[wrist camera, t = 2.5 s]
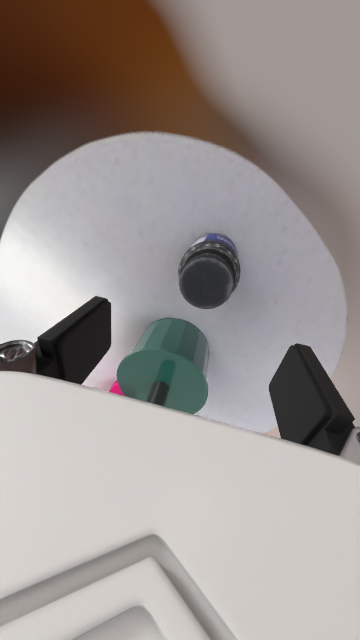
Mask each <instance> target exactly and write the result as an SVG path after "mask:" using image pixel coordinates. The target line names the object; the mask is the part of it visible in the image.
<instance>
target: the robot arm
mask: <svg viewBox="0 0 360 640" xmlns="http://www.w3.org/2000/svg"><path fill="white" fill-rule="evenodd" d="M110 346H111V303H110V302H108V299H106V298H102V297H98V296H95V297H94V298H92V299H91V300H89V301H88V302H87V303H85V304H84V305H82V306H81V307H80V308H78V309H77V310H75V311H74V312H73V313H71V314H70V315H68V316H67V317H66V318H64V319H63V320H61V321H60V322H59V323H57V324H56V325H54V326H53V327H52V328H50V329H49V330H47V331H46V332H45V333H43V334H42V335H40V336H39V337H38V341H37V342H35V343H34V344H33V343H32V342H30V341H26V340H14V341H9V342H6V343H3V344H0V640H360V427H355V426H354V425H353V423H352V422H353V421H354V420H355V418H354V417H353V415H352V413H351V412H350V410H349V409H348V407H347V406H346V404H345V402H344V401H343V399H342V397H341V396H340V394H339V392H338V391H337V389H336V388H335V386H334V384H333V383H332V381H331V380H330V378H329V376H328V375H327V373H326V371H325V370H324V368H323V367H322V365H321V363H320V362H319V360H318V359H317V357H316V355H315V354H314V352H313V350H312V349H311V347H310V346H306V345H302V344H298V343H297V344H295V345H294V346H293V345H291V346H290V347H289V349H288V351H287V353H286V355H285V356H284V358H283V360H282V362H281V364H280V366H279V367H278V369H277V371H276V373H275V375H274V377H273V378H272V380H271V382H270V384H269V392H270V396H271V400H272V404H273V408H274V412H275V416H276V420H277V424H278V428H279V432H280V436H281V439H280V438H276V437H273V436H270V435H266V434H262V433H259V432H255V431H252V430H248V429H244V428H241V427H237V426H233V425H230V424H226V423H223V422H219V421H215V420H212V419H208V418H204V417H200V416H197V415H193V414H189V413H186V412H182V411H178V410H175V409H171V408H167V407H163V406H160V405H156V404H152V403H148V402H145V401H141V400H137V399H133V398H130V397H126V396H122V395H118V394H114V393H111V392H107V391H103V390H99V389H95V388H92V387H88V386H84V385H81V384H82V383H83V382H84V381H85V379H86V378H87V377H88V376H89V374H90V373H91V372H92V370H93V369H94V368H95V367H96V365H97V364H98V363H99V362H100V360H101V359H102V358H103V356H104V355H105V354H106V353H107V351H108V350H109V349H110Z"/></svg>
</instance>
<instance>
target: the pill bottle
mask: <svg viewBox="0 0 360 640" xmlns="http://www.w3.org/2000/svg"><path fill="white" fill-rule="evenodd" d="M178 273H179V274H178V275H179V286H180V290H181V293H182V295H183V297H184V298H185V299H186V300H187V301H188V302H189V303H190V304H191V305H193V306H195V307H198V308H202V309H211V308H215V307H218V306H220V305H222V304H223V303H224V302H225V301H226V300H227V299H228V298H229V297H230V295H231V293H232V292H233V291H234V289H235V288H236V287H237V284H238V282H239V278H240V265H239V260H238V255H237V250H236V248H235V245H234V244H233V242H232V241H231V240H230V239H229V238H228V237H227V236H225V235H221V234H217V233H209V234H206V235H204V236H202V237H200V238H199V239H198V240H197V241H196V242H195V243H194V244H193V245H192V246H191V247H190V249H189V250H188V251H187V252H186V253H185V254H184V256H183V257H182V259H181V262H180V264H179V270H178Z"/></svg>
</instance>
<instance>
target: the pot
mask: <svg viewBox="0 0 360 640" xmlns="http://www.w3.org/2000/svg"><path fill="white" fill-rule="evenodd" d="M147 347H159V348H165V349H169V350H173V351H176V352H178V353H180V354H182V355H184V356H186V357H187V358H189V359H190V360H192V361H193V362H194V363H195V364H196V365H197V366H198V367H199V368H200V369H201V371H202V372H203V374H204V376H205V378H206V379H207V369H208V360H209V346H208V342H207V340H206V338H205V336H204V334H203V333H202V332H201V331H200V330H199V329H198V328H197V327H196V326H194V325H193V324H191V323H189V322H187V321H184V320H181V319H176V318H166V319H161V320H158V321H156V322H154V323H152V324H151V325H150V326H149V327H148V328H147V329H146V331H145V332H144V334H143V335H142V337H141V338H140V340H139V341H138V343H137V345H136V346H135V348H134V349H133V351H135V350H137V349H141V348H147ZM133 351H132V352H133Z"/></svg>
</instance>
